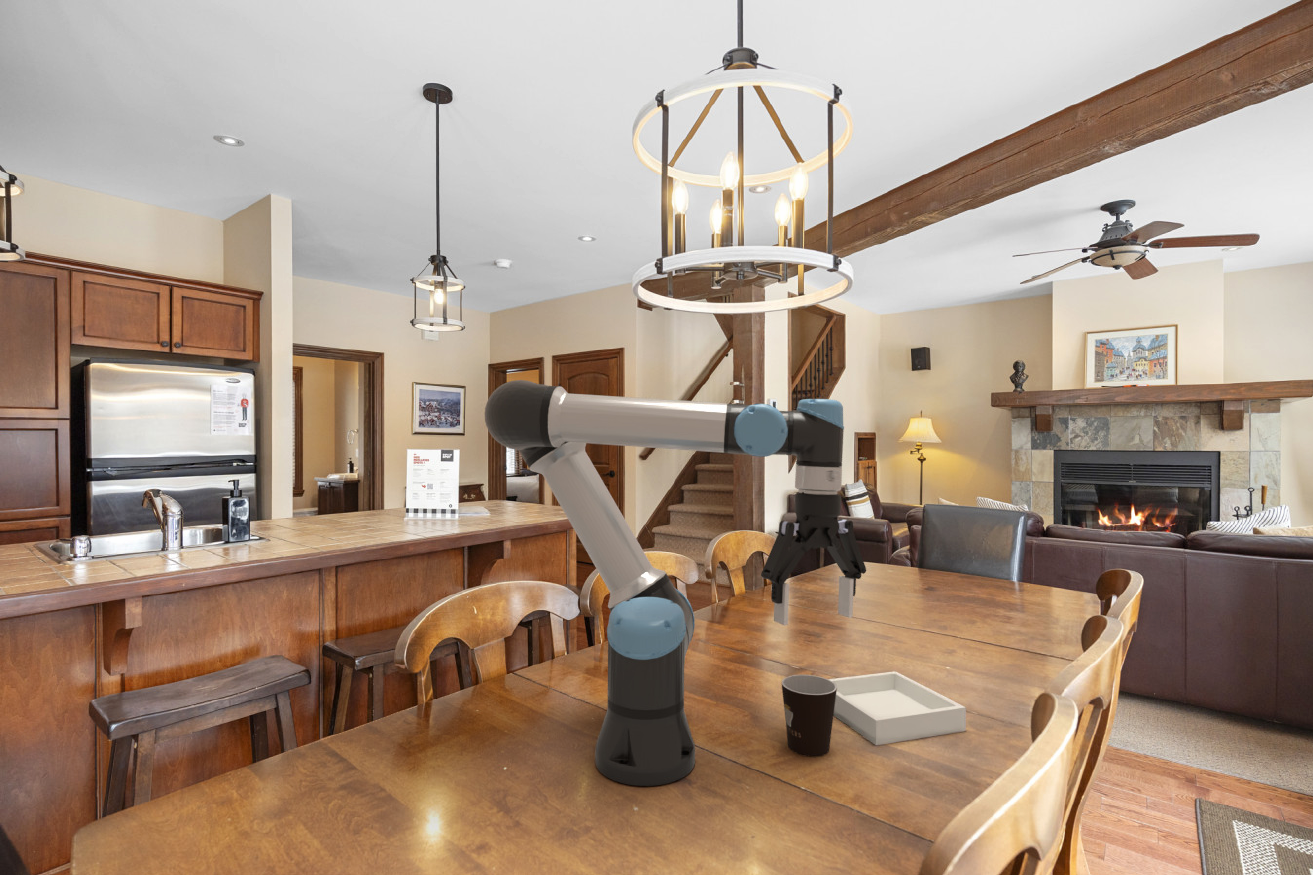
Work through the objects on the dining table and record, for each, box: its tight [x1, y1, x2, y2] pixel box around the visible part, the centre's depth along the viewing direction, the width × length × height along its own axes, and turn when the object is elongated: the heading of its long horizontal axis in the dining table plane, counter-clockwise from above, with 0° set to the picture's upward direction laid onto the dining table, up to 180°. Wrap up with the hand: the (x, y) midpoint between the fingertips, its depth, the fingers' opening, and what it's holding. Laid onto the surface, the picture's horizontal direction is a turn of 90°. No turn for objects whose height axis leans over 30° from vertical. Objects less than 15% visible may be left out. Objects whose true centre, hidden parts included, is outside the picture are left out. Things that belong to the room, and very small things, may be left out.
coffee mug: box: [781, 674, 837, 758], centre depth 105 cm, size 12×9×10 cm
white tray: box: [827, 670, 967, 746], centre depth 115 cm, size 18×18×4 cm
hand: (813, 619), depth 108 cm, fingers open, 13 cm apart
